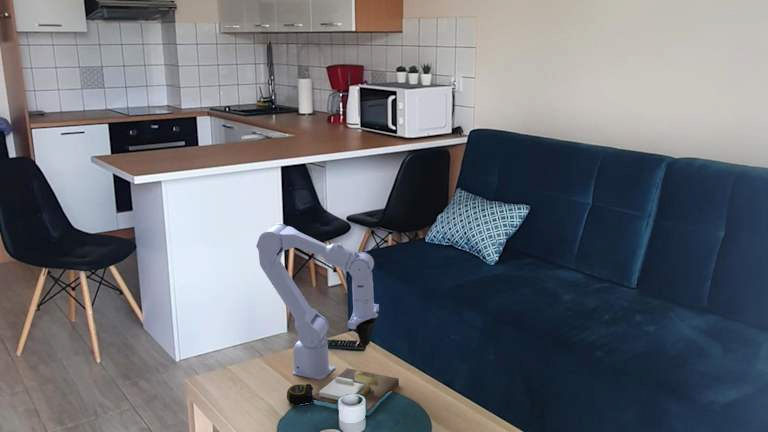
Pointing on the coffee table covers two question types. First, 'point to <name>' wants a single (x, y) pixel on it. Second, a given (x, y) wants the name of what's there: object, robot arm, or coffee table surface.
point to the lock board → (371, 397)
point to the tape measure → (300, 394)
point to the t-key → (367, 380)
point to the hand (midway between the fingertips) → (365, 343)
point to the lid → (341, 388)
